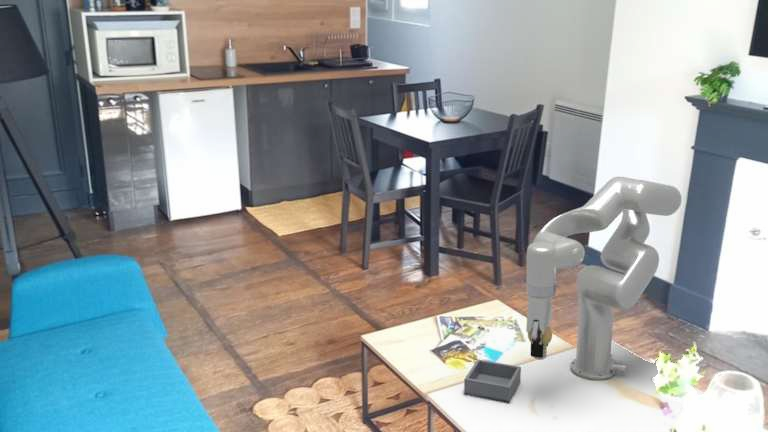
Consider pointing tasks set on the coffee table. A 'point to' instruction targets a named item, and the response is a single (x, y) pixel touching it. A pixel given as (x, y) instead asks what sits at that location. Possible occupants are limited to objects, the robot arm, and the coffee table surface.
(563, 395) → the coffee table surface
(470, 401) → the coffee table surface
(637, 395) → the coffee table surface
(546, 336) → the light bulb
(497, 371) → the bin
